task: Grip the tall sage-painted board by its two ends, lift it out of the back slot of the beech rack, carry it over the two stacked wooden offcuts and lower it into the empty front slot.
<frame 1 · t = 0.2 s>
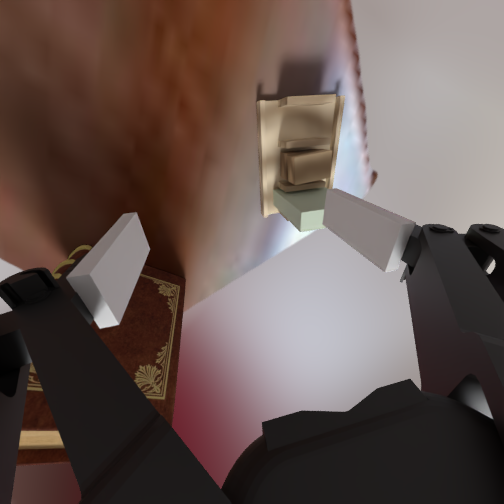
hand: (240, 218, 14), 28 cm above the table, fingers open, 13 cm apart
sage board: (295, 194, 44), point 1 cm above the table, touching rack
decorative book: (131, 274, 46), on the table
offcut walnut: (297, 162, 41), point 1 cm above the table, touching offcut oak, rack
offcut oak: (304, 165, 38), point 4 cm above the table, touching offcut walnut
rack: (295, 161, 41), on the table
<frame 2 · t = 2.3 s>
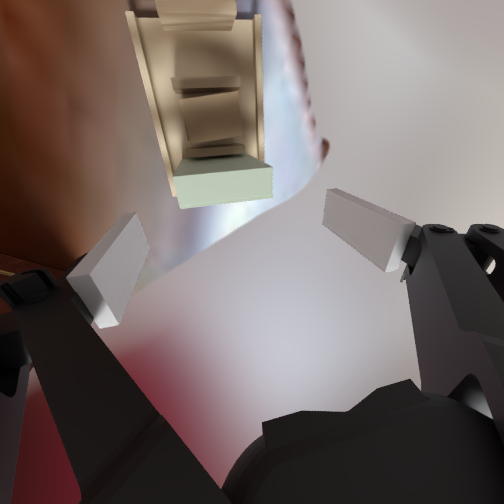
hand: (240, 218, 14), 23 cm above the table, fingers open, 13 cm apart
sage board: (216, 166, 33), point 1 cm above the table, touching rack
decorative book: (4, 270, 35), on the table
offcut oak: (211, 119, 27), point 4 cm above the table, touching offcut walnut
rack: (209, 119, 30), on the table
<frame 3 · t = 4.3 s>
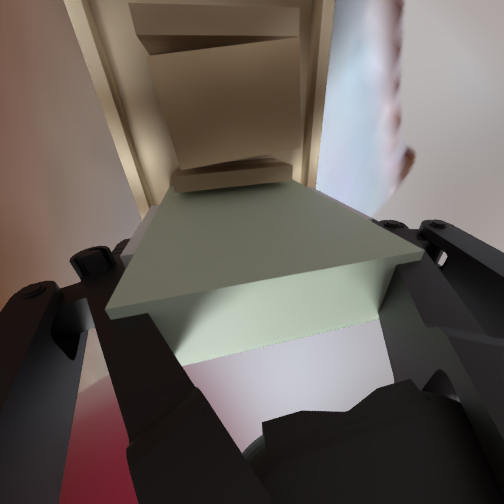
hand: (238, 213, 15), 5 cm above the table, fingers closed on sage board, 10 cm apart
sage board: (231, 198, 19), point 1 cm above the table, touching gripper, rack
offcut oak: (227, 113, 13), point 4 cm above the table, touching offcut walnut
rack: (220, 115, 16), on the table
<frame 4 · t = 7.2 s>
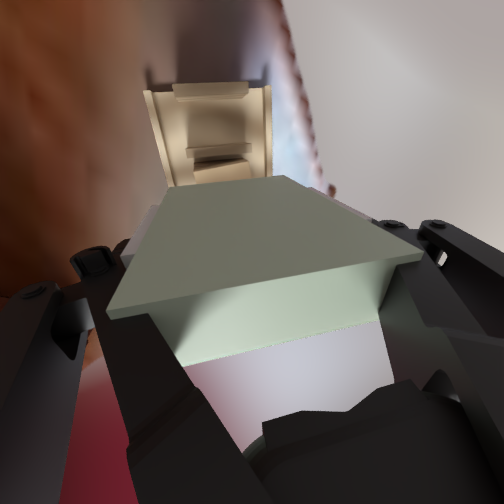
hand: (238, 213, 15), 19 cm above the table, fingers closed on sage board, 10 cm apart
sage board: (231, 198, 19), point 15 cm above the table, touching gripper
offcut oak: (223, 180, 28), point 4 cm above the table, touching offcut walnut
rack: (220, 173, 31), on the table
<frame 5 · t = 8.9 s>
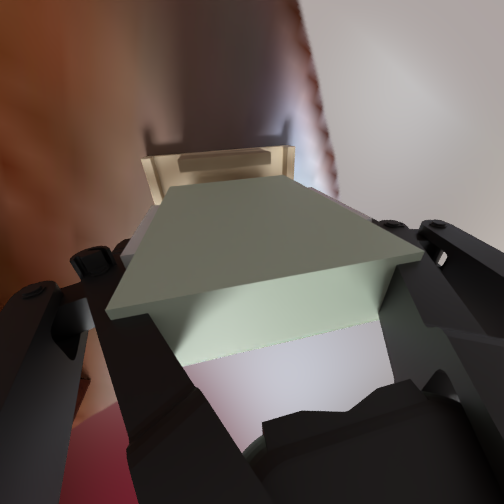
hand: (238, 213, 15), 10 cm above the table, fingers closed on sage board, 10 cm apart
sage board: (231, 198, 19), point 6 cm above the table, touching gripper
rack: (230, 233, 27), on the table
when the fingers open (7 cm above the table, at t = 10.2 s): sage board drops 2 cm, resting on rack.
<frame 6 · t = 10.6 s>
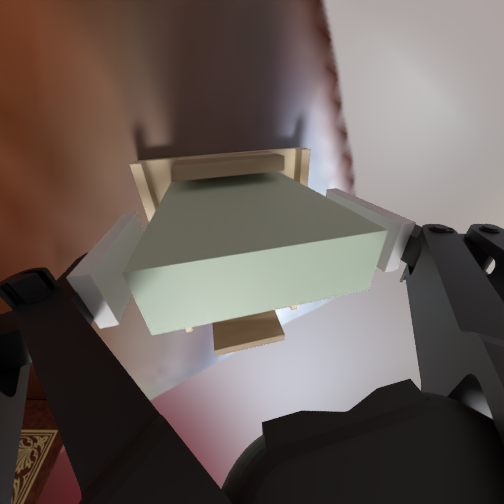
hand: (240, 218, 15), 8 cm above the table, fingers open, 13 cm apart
sage board: (228, 193, 20), point 1 cm above the table, touching rack
rack: (234, 246, 24), on the table
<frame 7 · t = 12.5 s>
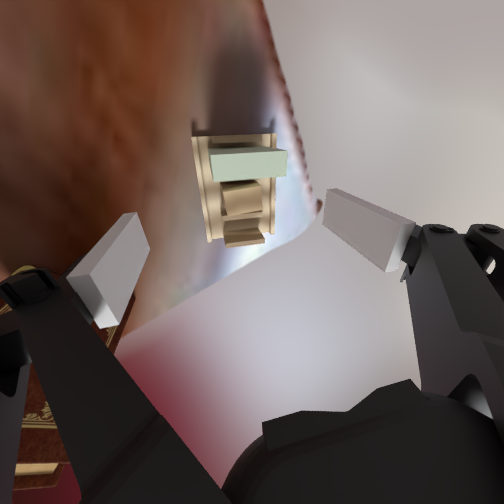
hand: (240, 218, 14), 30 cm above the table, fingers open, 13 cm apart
sage board: (235, 156, 39), point 1 cm above the table, touching rack
decorative book: (78, 292, 47), on the table
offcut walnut: (238, 192, 42), point 1 cm above the table, touching offcut oak, rack
offcut oak: (240, 196, 39), point 4 cm above the table, touching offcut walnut
rack: (237, 190, 43), on the table
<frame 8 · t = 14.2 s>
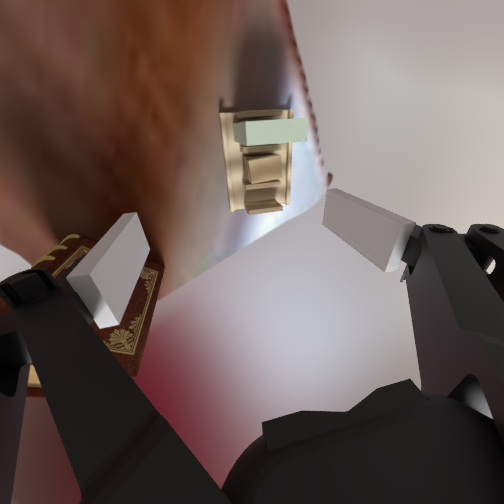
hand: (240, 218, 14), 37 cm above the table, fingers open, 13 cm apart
sage board: (256, 131, 44), point 1 cm above the table, touching rack
decorative book: (115, 261, 53), on the table
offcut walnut: (258, 164, 47), point 1 cm above the table, touching offcut oak, rack
offcut oak: (261, 167, 44), point 4 cm above the table, touching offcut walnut
rack: (257, 163, 48), on the table
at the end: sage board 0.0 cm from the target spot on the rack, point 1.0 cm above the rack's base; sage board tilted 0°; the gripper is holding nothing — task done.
